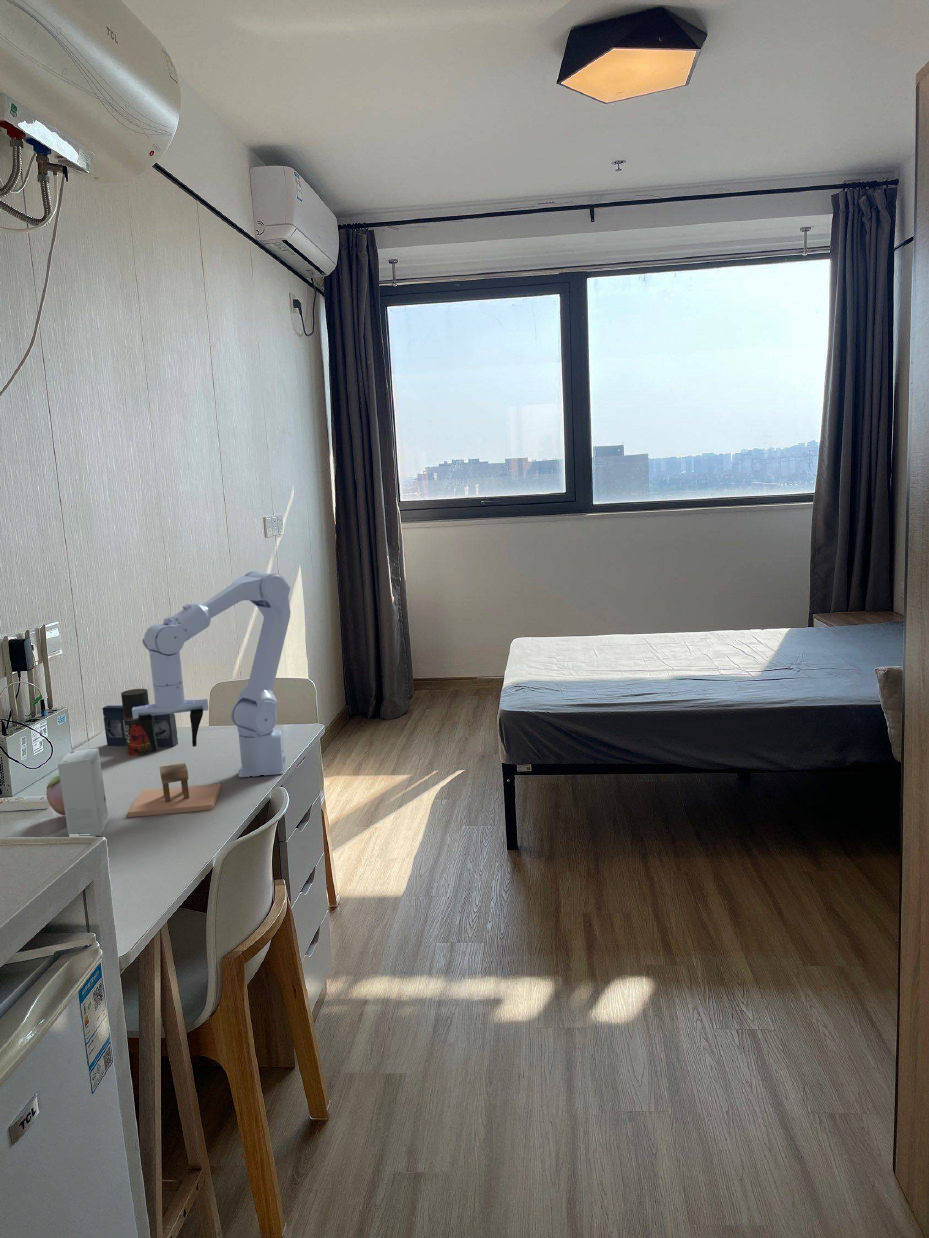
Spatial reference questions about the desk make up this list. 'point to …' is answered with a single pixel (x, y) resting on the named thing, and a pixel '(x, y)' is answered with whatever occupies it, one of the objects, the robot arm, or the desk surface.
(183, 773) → the stool
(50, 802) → the decorative fruit
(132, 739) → the deodorant
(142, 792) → the mat
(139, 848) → the desk surface
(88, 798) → the skincare box
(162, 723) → the vhs cassette tape
